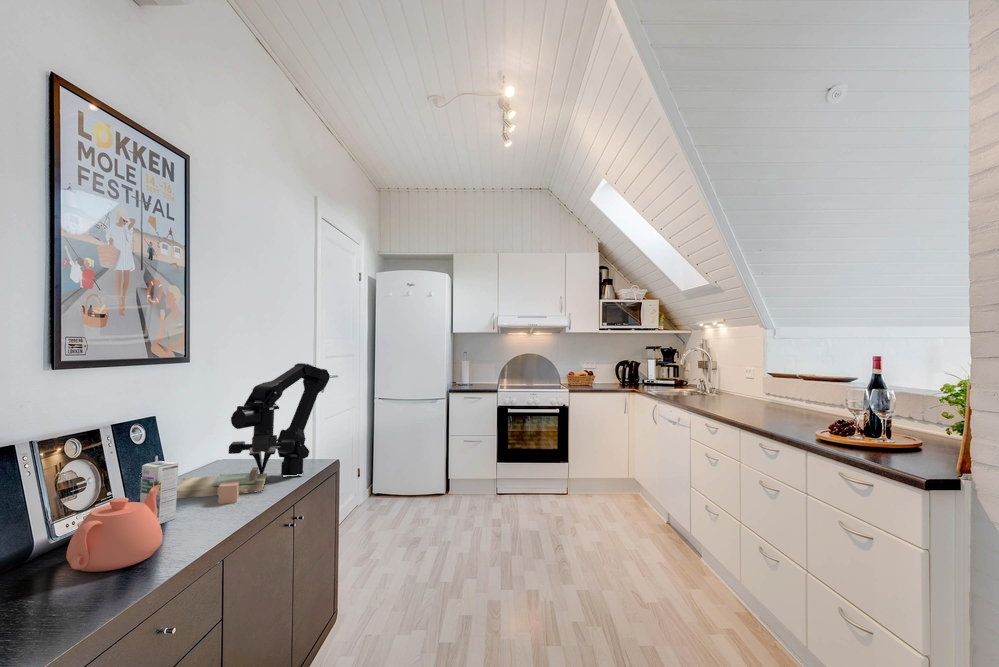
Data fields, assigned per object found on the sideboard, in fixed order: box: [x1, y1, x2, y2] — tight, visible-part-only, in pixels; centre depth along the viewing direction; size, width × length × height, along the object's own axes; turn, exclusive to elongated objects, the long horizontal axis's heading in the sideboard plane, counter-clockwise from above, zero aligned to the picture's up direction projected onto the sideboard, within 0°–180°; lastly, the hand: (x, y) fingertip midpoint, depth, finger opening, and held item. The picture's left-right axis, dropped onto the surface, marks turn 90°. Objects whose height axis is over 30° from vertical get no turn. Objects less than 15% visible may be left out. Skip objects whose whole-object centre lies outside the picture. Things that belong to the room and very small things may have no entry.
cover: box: [213, 466, 259, 486], centre depth 153 cm, size 11×11×3 cm
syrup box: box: [139, 460, 179, 525], centre depth 123 cm, size 6×6×14 cm
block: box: [218, 481, 240, 505], centre depth 140 cm, size 4×4×5 cm
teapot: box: [66, 485, 163, 573], centre depth 102 cm, size 22×16×12 cm
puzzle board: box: [177, 472, 268, 499], centre depth 152 cm, size 24×15×2 cm, turn 111°
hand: (261, 473), depth 156 cm, fingers closed
